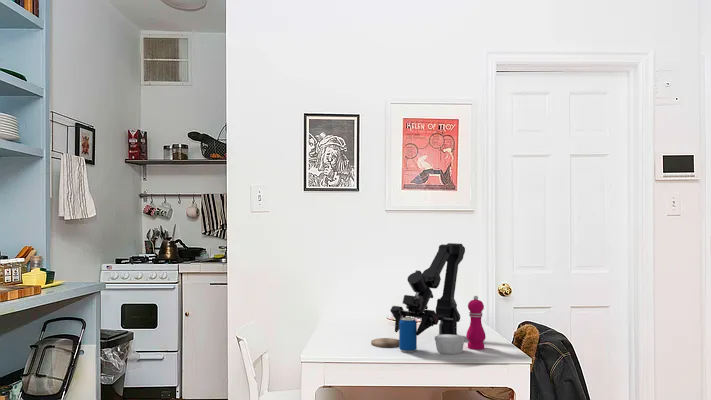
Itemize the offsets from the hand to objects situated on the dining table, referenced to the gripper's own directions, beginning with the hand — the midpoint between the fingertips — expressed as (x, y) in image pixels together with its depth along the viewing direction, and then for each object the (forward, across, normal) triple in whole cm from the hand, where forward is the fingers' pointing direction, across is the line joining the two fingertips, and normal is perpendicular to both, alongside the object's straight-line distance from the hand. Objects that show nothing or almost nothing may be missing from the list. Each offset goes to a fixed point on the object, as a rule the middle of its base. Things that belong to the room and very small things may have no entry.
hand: (406, 333), depth 210 cm
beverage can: (+4, 0, +6) cm, 7 cm away
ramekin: (-2, +13, +12) cm, 18 cm away
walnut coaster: (+1, -12, +9) cm, 15 cm away
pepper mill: (-10, +18, +20) cm, 29 cm away
